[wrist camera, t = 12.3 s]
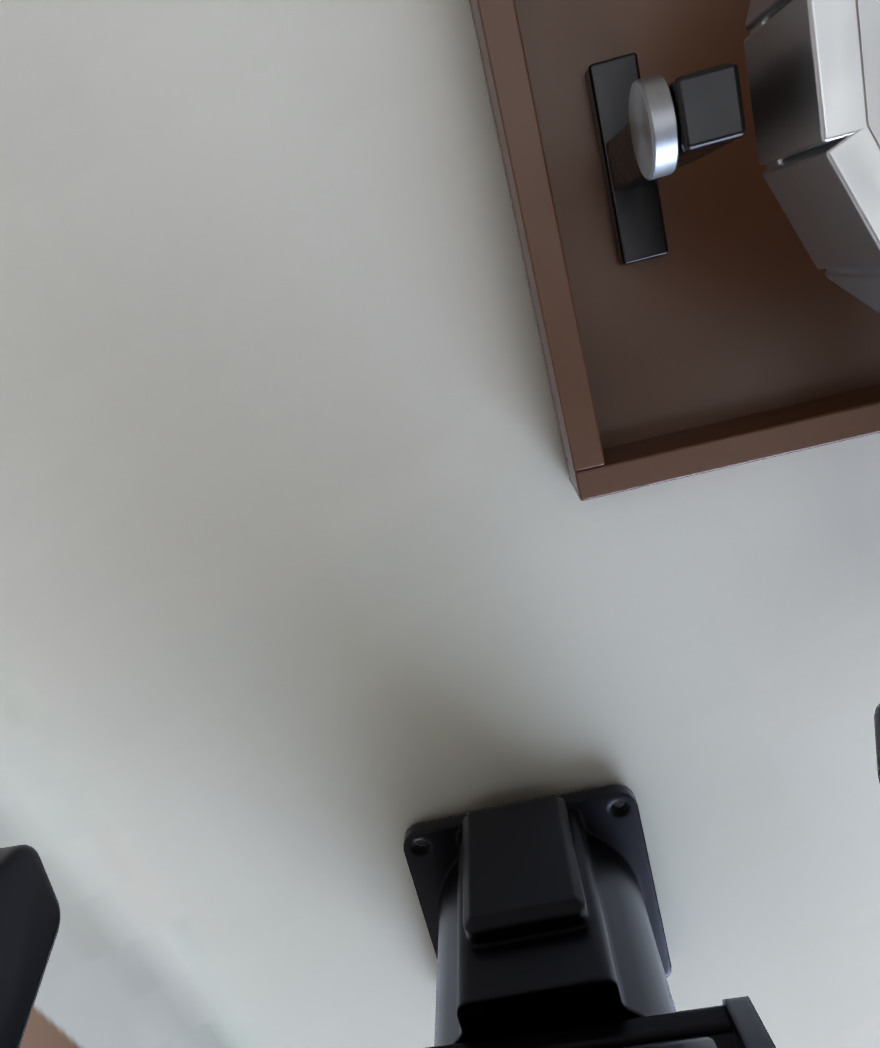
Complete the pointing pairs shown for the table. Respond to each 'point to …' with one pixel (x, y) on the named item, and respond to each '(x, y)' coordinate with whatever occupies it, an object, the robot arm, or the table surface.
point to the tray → (665, 263)
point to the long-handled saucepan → (822, 128)
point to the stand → (655, 139)
